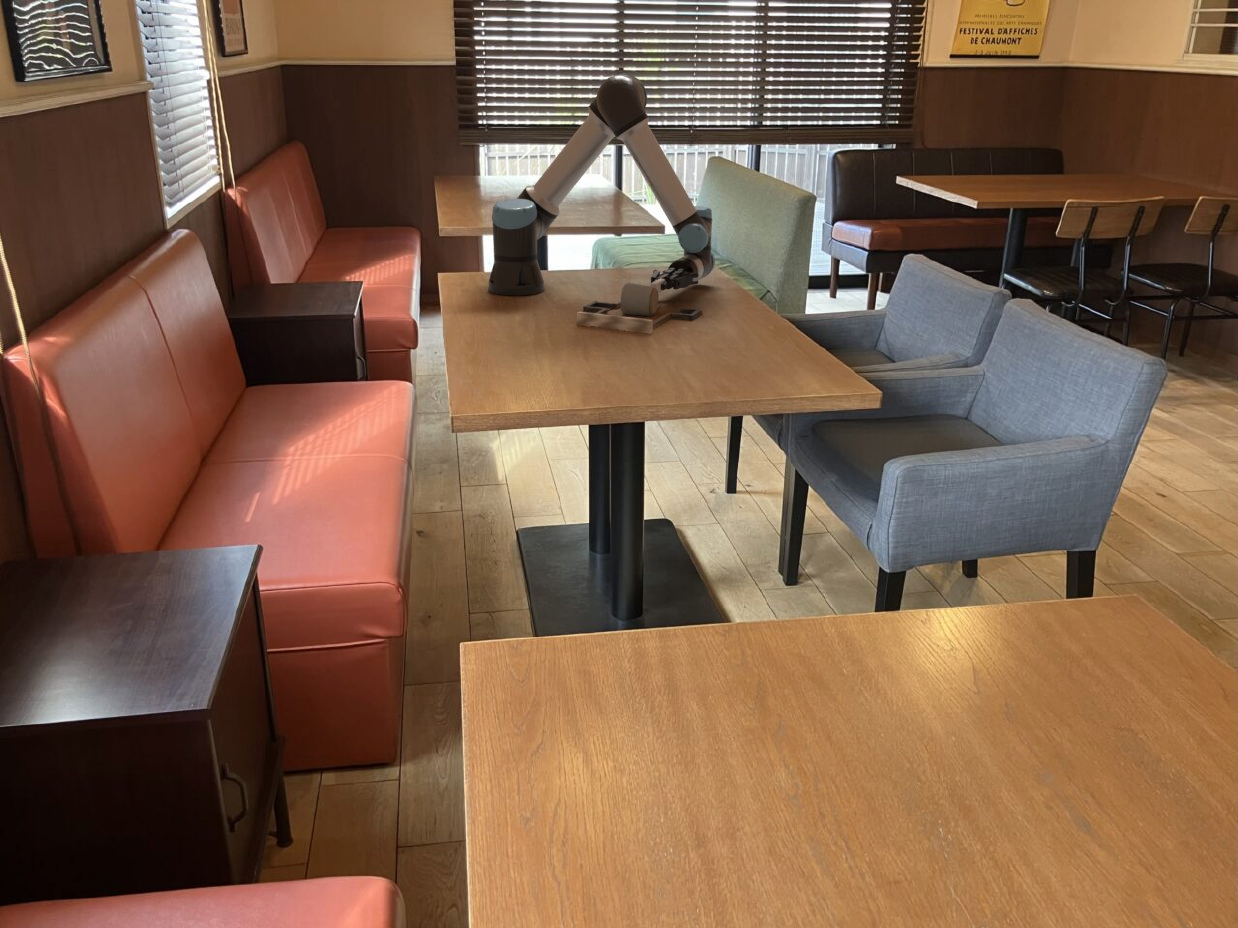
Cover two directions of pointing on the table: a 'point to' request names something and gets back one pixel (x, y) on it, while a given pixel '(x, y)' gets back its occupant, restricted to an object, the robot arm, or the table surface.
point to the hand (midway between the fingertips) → (653, 289)
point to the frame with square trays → (627, 318)
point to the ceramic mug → (639, 299)
